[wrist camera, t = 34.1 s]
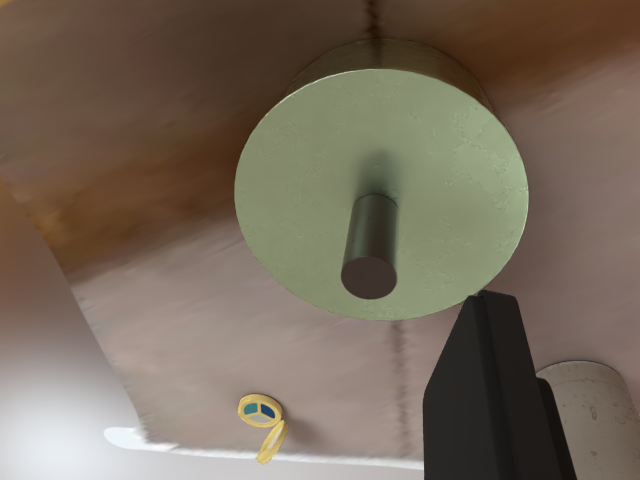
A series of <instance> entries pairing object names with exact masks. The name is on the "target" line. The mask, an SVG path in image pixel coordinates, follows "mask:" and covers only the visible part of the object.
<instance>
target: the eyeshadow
mask: <svg viewBox="0 0 640 480" xmlns="http://www.w3.org/2000/svg"><path fill="white" fill-rule="evenodd" d="M238 415H239V416H240V418H241V419H242V420H243V421H245V422H246V423H248V424H250V425H252V426H255V427H260V428H269V427H273V426H275V425H276V426H275V427H274V428H273V430H272V431H271V432H270V434H269V435H268V437H267V438H266V440H265V442H264V443H263V445H262V447H261V449H260V451H259V454H258V456H257V457H256V460H257V461H258V462H260V463H262V464H263V465H264V464H266V463H267V462H268V461H270V459H271V458H272V457H273V456H274V455H275V453H276V452H277V450H278V449H279V447H280V446H281V444H282V442H283V440H284V438H285V436H286V434H287V431H288V428H289V425H288V424H287V423H285V421H284V420H282V421H280V420H281V416H282V408H281V406H280V405H279V404H278V403H277V402H276V401H275V400H274V399H272V398H270V397H267V396H264V395H259V394H251V395H247V396H245V397H243V398H242V399H241V400H240V403H239V407H238Z"/></svg>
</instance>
